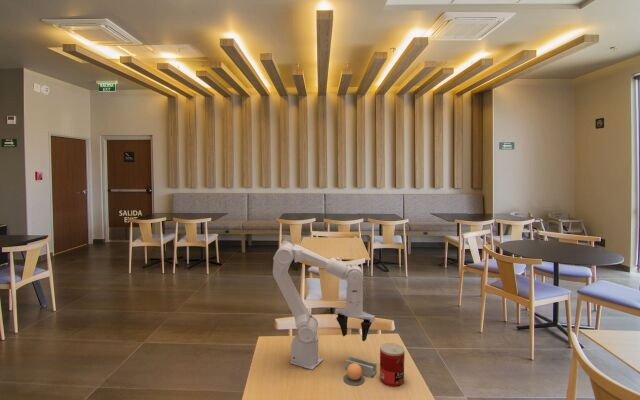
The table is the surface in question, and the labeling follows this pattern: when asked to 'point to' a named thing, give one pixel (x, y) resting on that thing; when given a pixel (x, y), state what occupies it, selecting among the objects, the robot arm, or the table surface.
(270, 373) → the table surface
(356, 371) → the ball
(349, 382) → the coaster
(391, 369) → the canned food
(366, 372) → the acrylic fence
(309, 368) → the robot arm
